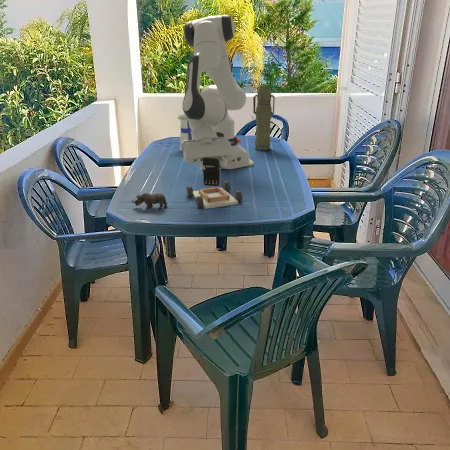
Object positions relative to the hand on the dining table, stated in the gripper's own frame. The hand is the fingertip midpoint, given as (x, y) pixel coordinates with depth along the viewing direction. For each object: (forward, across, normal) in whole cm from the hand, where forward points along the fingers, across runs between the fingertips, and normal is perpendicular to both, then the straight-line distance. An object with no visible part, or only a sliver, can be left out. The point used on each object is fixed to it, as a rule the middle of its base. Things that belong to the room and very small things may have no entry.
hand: (212, 169), depth 174 cm
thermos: (-39, +56, +56) cm, 88 cm away
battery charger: (+4, 0, +6) cm, 7 cm away
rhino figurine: (+9, -26, +10) cm, 29 cm away
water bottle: (-50, +15, +68) cm, 86 cm away
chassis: (+9, 0, +10) cm, 13 cm away
